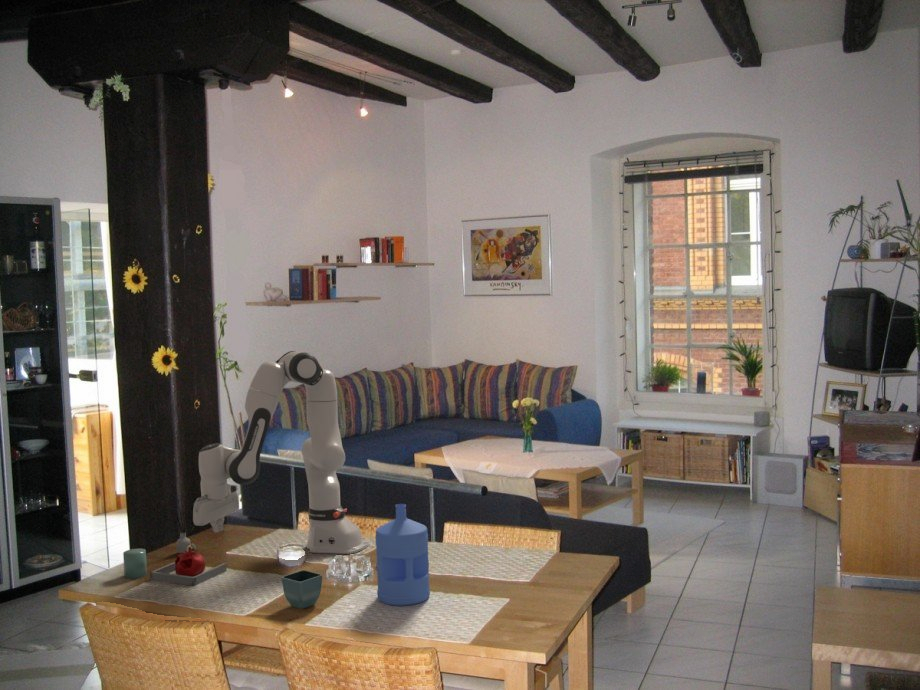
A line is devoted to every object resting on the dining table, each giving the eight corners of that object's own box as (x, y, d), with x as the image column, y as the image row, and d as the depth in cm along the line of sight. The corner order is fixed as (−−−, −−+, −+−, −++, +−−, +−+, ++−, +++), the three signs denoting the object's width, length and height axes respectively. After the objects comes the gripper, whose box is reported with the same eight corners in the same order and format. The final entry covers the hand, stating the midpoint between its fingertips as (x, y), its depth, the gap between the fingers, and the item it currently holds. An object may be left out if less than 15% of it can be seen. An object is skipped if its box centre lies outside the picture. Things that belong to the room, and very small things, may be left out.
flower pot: (304, 598, 274) (303, 569, 273) (324, 604, 268) (323, 574, 267) (281, 606, 267) (280, 576, 266) (301, 613, 261) (300, 582, 261)
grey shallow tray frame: (226, 570, 302) (226, 563, 302) (194, 586, 288) (193, 578, 288) (184, 565, 310) (183, 558, 310) (150, 579, 295) (149, 572, 295)
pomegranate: (193, 567, 307) (191, 540, 306) (212, 572, 301) (210, 545, 300) (168, 576, 299) (166, 548, 298) (187, 581, 293) (185, 552, 292)
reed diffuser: (182, 557, 319) (179, 501, 318) (165, 555, 321) (162, 500, 320) (199, 548, 329) (196, 494, 328) (183, 547, 331) (180, 493, 330)
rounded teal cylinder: (151, 573, 302) (150, 549, 302) (136, 579, 296) (134, 555, 295) (135, 571, 305) (134, 547, 304) (119, 577, 299) (118, 553, 298)
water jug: (371, 593, 276) (368, 502, 274) (420, 585, 282) (417, 496, 280) (385, 610, 262) (382, 514, 260) (437, 601, 267) (434, 508, 265)
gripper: (201, 499, 299) (205, 541, 301) (240, 484, 318) (244, 523, 319) (186, 499, 302) (190, 539, 303) (226, 484, 320) (229, 522, 322)
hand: (218, 531), depth 311 cm, fingers closed
